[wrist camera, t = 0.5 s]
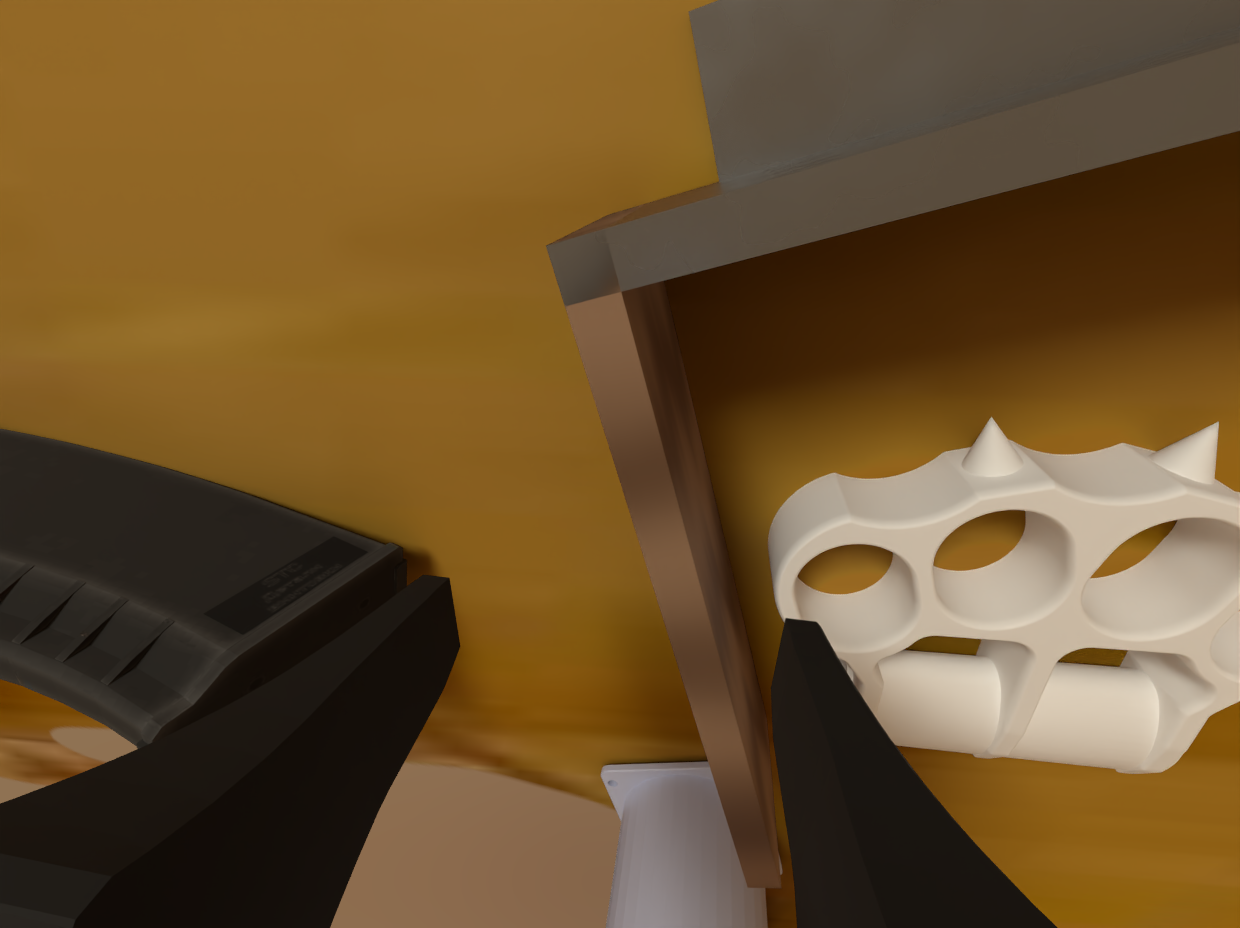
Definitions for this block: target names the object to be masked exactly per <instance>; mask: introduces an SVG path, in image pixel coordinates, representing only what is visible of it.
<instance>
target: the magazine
mask: <svg viewBox="0 0 1240 928" xmlns="http://www.w3.org/2000/svg"><path fill="white" fill-rule="evenodd" d="M406 587H407V560H406V559H404V558H403V548H402V547H400V546H398V545H396V544H394V543H388V544H386V545H385V544H383V543H380V542H377V541H375V540H372V539H369V538H366V537H364V536H361V535H358V534H356V533H353V532H350V531H347V530H345V529H342V528H339V527H336V526H334V525H331V524H328V523H326V522H323V521H320V520H317V519H315V518H312V517H309V516H307V515H304V514H301V513H298V512H296V511H293V510H290V509H287V508H285V507H282V506H279V505H277V504H274V503H271V502H268V501H266V500H263V499H260V498H258V497H255V496H252V495H249V494H247V493H243V492H240V491H237V490H234V489H231V488H228V487H225V486H222V485H219V484H216V483H213V482H210V481H207V480H204V479H201V478H197V477H194V476H191V475H188V474H184V473H181V472H178V471H174V470H171V469H168V468H165V467H161V466H157V465H154V464H150V463H146V462H142V461H139V460H135V459H131V458H127V457H124V456H120V455H116V454H112V453H108V452H104V451H100V450H96V449H92V448H88V447H84V446H80V445H76V444H72V443H67V442H63V441H58V440H53V439H49V438H44V437H39V436H35V435H30V434H25V433H20V432H15V431H9V430H4V429H0V679H2V680H5V681H8V682H11V683H15V684H18V685H21V686H24V687H26V688H28V689H31V690H33V691H35V692H38V693H40V694H43V695H45V696H47V697H50V698H52V699H54V700H57V701H59V702H61V703H64V704H66V705H67V706H69V707H71V708H73V709H75V710H77V711H79V712H81V713H83V714H85V715H87V716H89V717H91V718H93V719H94V720H96V721H98V722H100V723H102V724H104V725H106V726H108V727H109V728H111V729H112V730H113V731H115V732H116V733H118V734H119V735H121V736H122V737H124V738H125V739H127V740H128V741H130V742H131V743H132V744H134V745H136V746H137V748H138V749H139V748H141V747H144V746H146V745H148V744H150V743H152V742H155V741H157V740H159V739H161V738H163V737H165V736H168V735H170V734H172V733H174V732H176V731H178V730H180V729H182V728H184V727H186V726H188V725H190V724H192V723H194V722H196V721H198V720H199V719H201V718H203V717H205V716H207V715H209V714H211V713H213V712H215V711H217V710H219V709H221V708H223V707H225V706H227V705H229V704H231V703H233V702H234V701H236V700H238V699H240V698H242V697H243V696H245V695H247V694H249V693H250V692H252V691H254V690H256V689H257V688H259V687H261V686H263V685H264V684H266V683H268V682H269V681H271V680H273V679H274V678H276V677H278V676H279V675H281V674H283V673H284V672H286V671H287V670H289V669H291V668H292V667H294V666H295V665H297V664H298V663H300V662H301V661H303V660H304V659H306V658H307V657H309V656H310V655H312V654H313V653H315V652H316V651H318V650H319V649H321V648H322V647H324V646H325V645H327V644H328V643H330V642H331V641H333V640H334V639H336V638H337V637H339V636H340V635H342V634H343V633H344V632H346V631H347V630H348V629H350V628H351V627H353V626H354V625H355V624H357V623H358V622H360V621H361V620H362V619H364V618H365V617H366V616H368V615H369V614H371V613H372V612H373V611H375V610H376V609H377V608H379V607H380V606H381V605H383V604H384V603H385V602H387V601H388V600H389V599H391V598H392V597H393V596H395V595H396V594H397V593H399V592H400V591H401V590H403V589H404V588H406Z"/></svg>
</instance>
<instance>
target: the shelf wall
mask: <svg viewBox="0 0 1240 928" xmlns="http://www.w3.org/2000/svg"><path fill="white" fill-rule="evenodd" d="M643 205H645V204H643ZM643 205H640V206H637V207H633V208H630V209H627V210H623V211H620V212H617V213H613V214H610V215H608V216H605V217H603V218H601V219H600V220H598V221H596V222H593V223H591V224H589V225H587V226H585V227H583V228H581V229H579V230H577V231H575V232H573V233H571V234H569V235H567V236H565V237H563V238H561V239H559V240H558V241H555V242H553V243H552V244H554V243H558V242H561V241H564V240H568V239H571V238H575V237H578V236H581V235H585V234H588V233H592V232H595V231H598V230H602V229H605V228H606V227H608V226H610V225H611V224H613V223H615V222H616V221H618V220H620V219H621V218H623V217H625V216H626V215H628V214H630V213H631V212H633V211H635V210H636V209H638V208H640V207H641V206H643ZM550 245H551V244H550ZM607 245H608V244H607ZM607 247H608V246H607ZM608 248H609V247H608ZM609 251H610V250H609ZM598 253H599V252H598ZM607 254H608V253H607ZM610 254H611V253H610ZM599 258H600V257H599ZM610 258H611V257H610ZM611 259H612V258H611ZM603 260H604V259H603ZM606 261H607V260H606ZM608 261H609V260H608ZM612 263H613V262H612ZM596 264H597V263H596ZM598 264H599V263H598ZM606 264H607V263H606ZM599 265H600V264H599ZM604 265H605V264H604ZM612 265H613V266H614V263H613V264H612ZM602 266H603V265H602ZM600 268H602V267H600ZM606 268H607V267H606ZM606 268H605V269H606ZM613 268H614V267H613ZM606 270H607V269H606ZM609 270H610V269H609ZM609 270H607V271H608V272H609ZM613 270H615V269H613ZM608 272H607V273H608ZM577 273H578V272H577ZM593 273H594V272H593ZM607 273H605V274H607ZM611 273H613V271H612V272H611ZM611 273H610V274H611ZM595 274H596V273H595ZM608 274H609V273H608ZM610 274H609V275H610ZM615 274H616V272H615ZM596 275H597V274H596ZM596 275H595V276H596ZM611 275H612V274H611ZM613 275H614V274H613ZM601 276H602V274H601ZM604 276H605V275H604ZM607 276H608V275H607ZM609 277H611V276H609ZM612 277H614V279H617V280H618V278H615V277H617V275H615V276H612ZM586 278H587V277H586ZM599 278H600V277H599ZM602 278H603V276H602ZM605 278H606V280H607V281H606V282H611V281H612V282H614V281H613V280H612V279H613V278H612V279H610V280H611V281H610V280H608V279H607V277H605ZM587 279H588V278H587ZM592 279H593V278H592ZM588 280H589V279H588ZM593 280H594V279H593ZM593 280H592V281H593ZM601 280H602V279H601ZM617 280H616V281H615V282H617ZM599 281H600V280H599ZM602 281H605V279H604V280H602ZM615 282H614V283H615ZM581 283H582V282H581ZM589 283H590V282H589ZM597 283H598V281H597ZM603 283H604V284H605V286H606V289H607V291H604V290H603V288H602V291H604V292H606V295H607V293H608V295H607V296H605V293H604V292H602V293H600V294H601V295H602V294H603V293H604V294H603V295H604V296H603V295H602V296H601V297H600V295H599V294H598V293H597V291H596V292H595V295H597V294H598V295H597V296H596V297H595V299H592V300H589V299H588V301H587V300H586V301H585V300H584V299H583V298H582V297H581V298H582V300H583V302H580V303H576V304H575V302H574V300H573V302H574V304H573V305H568V306H565V308H566V311H567V314H568V317H569V320H570V323H571V327H572V330H573V333H574V336H575V339H576V343H577V346H578V349H579V352H580V355H581V358H582V362H583V365H584V368H585V371H586V374H587V378H588V381H589V384H590V387H591V390H592V393H593V397H594V400H595V403H596V406H597V409H598V413H599V416H600V419H601V422H602V425H603V428H604V432H605V435H606V438H607V441H608V444H609V448H610V451H611V454H612V457H613V460H614V464H615V467H616V470H617V473H618V476H619V479H620V483H621V486H622V489H623V492H624V495H625V499H626V502H627V505H628V508H629V511H630V514H631V518H632V521H633V524H634V527H635V530H636V534H637V537H638V540H639V543H640V546H641V549H642V553H643V556H644V559H645V562H646V565H647V569H648V572H649V575H650V578H651V581H652V584H653V588H654V591H655V594H656V597H657V600H658V604H659V607H660V610H661V613H662V616H663V619H664V623H665V626H666V629H667V632H668V635H669V639H670V642H671V645H672V648H673V651H674V655H675V658H676V661H677V664H678V667H679V670H680V674H681V677H682V680H683V683H684V686H685V690H686V693H687V696H688V699H689V702H690V705H691V709H692V712H693V715H694V718H695V721H696V725H697V728H698V731H699V734H700V737H701V740H702V744H703V747H704V750H705V753H706V756H707V760H708V763H709V766H710V769H711V772H712V775H713V779H714V782H715V785H716V788H717V791H718V795H719V798H720V801H721V804H722V807H723V810H724V814H725V817H726V820H727V823H728V826H729V830H730V833H731V836H732V839H733V842H734V846H735V849H736V852H737V855H738V858H739V861H740V865H741V868H742V871H743V874H744V877H745V881H746V884H747V887H748V888H781V877H780V865H779V853H778V842H777V830H776V818H775V807H774V795H773V783H772V772H771V760H770V749H769V737H768V725H767V718H766V713H765V709H764V705H763V700H762V696H761V692H760V688H759V683H758V679H757V675H756V671H755V666H754V662H753V658H752V654H751V649H750V645H749V641H748V637H747V632H746V628H745V624H744V620H743V615H742V611H741V607H740V603H739V598H738V594H737V590H736V585H735V581H734V577H733V573H732V568H731V564H730V560H729V556H728V551H727V547H726V543H725V539H724V534H723V530H722V526H721V522H720V517H719V513H718V509H717V505H716V500H715V496H714V492H713V488H712V483H711V479H710V475H709V471H708V466H707V462H706V458H705V453H704V449H703V445H702V441H701V436H700V432H699V428H698V424H697V419H696V415H695V411H694V407H693V402H692V398H691V394H690V390H689V385H688V381H687V377H686V373H685V368H684V364H683V360H682V356H681V351H680V347H679V343H678V338H677V334H676V330H675V326H674V321H673V317H672V313H671V309H670V304H669V300H668V296H667V292H666V287H665V283H664V281H661V282H657V283H653V284H649V285H645V286H642V287H638V288H634V289H630V290H626V291H622V292H621V289H620V286H619V284H618V282H617V286H618V288H619V289H618V288H617V289H616V290H615V289H614V288H616V286H615V287H614V288H613V286H614V285H613V286H612V285H611V283H605V282H603ZM614 283H612V284H614ZM599 284H601V283H599ZM606 284H607V285H606ZM609 284H610V285H611V286H610V285H609ZM584 285H585V284H584ZM592 286H593V288H595V287H594V285H593V284H592ZM595 286H596V285H595ZM600 286H601V285H600ZM596 287H597V286H596ZM598 287H599V286H598ZM602 287H603V286H602ZM604 288H605V287H604ZM609 288H610V289H611V291H612V290H613V291H612V292H611V291H610V289H609ZM595 289H596V290H597V288H595ZM599 289H600V290H601V288H600V287H599ZM608 289H609V290H608ZM592 290H593V289H592ZM588 291H589V290H588ZM594 291H595V290H594ZM609 291H610V292H609ZM619 291H620V292H619ZM580 292H581V291H580ZM582 292H583V290H582ZM600 292H601V291H600ZM616 292H618V293H616ZM593 293H594V292H593ZM596 293H597V294H596ZM586 294H587V293H586ZM587 295H588V294H587ZM590 295H591V294H590ZM595 295H594V296H595ZM575 296H576V295H575ZM580 296H581V295H580ZM582 296H584V295H582ZM584 297H585V296H584ZM587 297H588V296H587ZM597 297H598V298H597ZM568 298H569V297H568ZM581 298H580V299H581ZM571 303H572V302H571ZM565 305H566V304H565Z"/></svg>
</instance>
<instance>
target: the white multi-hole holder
mask: <svg viewBox="0 0 1240 928" xmlns="http://www.w3.org/2000/svg"><path fill="white" fill-rule="evenodd" d="M1218 428H1219V422H1217V423H1215V424H1213V425H1211V426H1208V427H1206V428H1204V429H1202V430H1200V431H1198V432H1196V433H1194V434H1192V435H1190V436H1188V437H1186V438H1184V439H1182V440H1180V441H1178V442H1176V443H1174V444H1171V445H1169V446H1167V447H1165V448H1163V449H1161V450H1159V451H1157V452H1155V451H1151V450H1148V449H1144V448H1140V447H1136V446H1133V445H1129V444H1125V443H1121V444H1118V445H1115V446H1112V447H1109V448H1106V449H1102V450H1099V451H1094V452H1089V453H1083V454H1072V455H1058V454H1048V453H1042V452H1038V451H1034V450H1031V449H1028V448H1025V447H1023V446H1021V445H1019V444H1017V443H1015V442H1014V441H1012V440H1008V439H1007V438H1006V436H1005V435H1004V434H1003V432H1002V431H1001V429H1000V428H999V427H998V425H997V424H996V422H995V421H994V420H993V418H992V417H991V418H990V420H989V421H988V423H987V424H986V426H985V427H984V429H983V430H982V432H981V433H980V435H979V436H978V438H977V439H976V441H975V443H974V444H973V446H972V447H969V448H963V449H958V450H952V451H947V452H943V453H942V454H941V455H939V456H938V457H936V458H935V459H934V460H932V461H930V462H929V463H927V464H925V465H923V466H921V467H919V468H917V469H915V470H912V471H910V472H907V473H904V474H900V475H897V476H892V477H887V478H878V479H860V478H852V477H847V476H843V475H840V474H837V473H831V474H828V475H825V476H823V477H820V478H818V479H816V480H814V481H812V482H810V483H808V484H806V485H805V486H803V487H802V488H800V489H799V490H798V491H796V492H795V493H794V494H793V495H792V496H790V497H789V498H788V499H787V500H786V502H785V503H784V504H783V505H782V506H781V508H780V509H779V511H778V512H777V514H776V516H775V517H774V520H773V522H772V524H771V527H770V531H769V536H768V551H769V559H770V567H771V575H772V582H773V590H774V597H775V602H776V606H777V609H778V611H779V614H780V616H781V618H782V620H783V621H784V623H785V618H790V619H798V620H807V621H815V622H817V623H818V624H819V625H820V626H821V628H822V630H823V631H824V633H825V635H826V637H827V639H828V641H829V642H830V644H831V646H832V648H833V650H834V651H835V653H836V655H837V656H838V658H839V660H840V662H841V663H842V665H843V667H844V668H845V670H846V672H847V673H848V675H849V677H850V678H851V680H852V682H853V683H854V685H855V686H856V688H857V690H858V691H859V693H860V694H861V696H862V697H863V699H864V700H865V702H866V703H867V705H868V706H869V708H870V709H871V711H872V712H873V714H874V715H875V717H876V718H877V720H878V721H879V723H880V724H881V726H882V727H883V729H884V730H885V732H886V733H887V734H888V736H889V737H890V739H891V740H892V741H893V743H894V744H895V745H897V746H906V747H915V748H924V749H934V750H943V751H952V752H961V753H971V754H973V755H974V756H975V757H978V758H988V759H990V758H998V757H1008V758H1017V759H1027V760H1036V761H1046V762H1055V763H1064V764H1074V765H1083V766H1093V767H1102V768H1112V769H1116V771H1117V772H1120V773H1130V774H1140V773H1158V772H1163V771H1164V770H1166V769H1168V768H1170V767H1171V766H1173V765H1174V764H1175V763H1176V762H1177V761H1178V760H1179V759H1180V757H1181V756H1182V754H1183V753H1184V752H1186V751H1187V749H1188V748H1189V746H1190V745H1191V743H1192V742H1193V740H1194V739H1195V737H1196V736H1197V734H1198V733H1199V731H1200V730H1201V728H1202V727H1203V725H1204V724H1205V722H1206V721H1207V719H1208V718H1209V716H1211V715H1212V714H1214V713H1216V712H1218V711H1220V710H1222V709H1224V708H1226V707H1228V706H1230V705H1233V704H1235V703H1237V702H1239V701H1240V611H1239V610H1240V492H1235V491H1233V490H1231V489H1230V488H1228V487H1227V486H1225V485H1224V484H1222V483H1220V482H1219V481H1217V480H1216V479H1214V478H1215V465H1216V453H1217V440H1218ZM1004 510H1024V511H1025V516H1026V525H1025V530H1024V533H1023V536H1022V538H1021V539H1020V541H1019V543H1018V544H1017V545H1016V547H1015V548H1014V549H1013V550H1012V551H1011V552H1010V553H1009V554H1007V555H1006V556H1005V557H1003V558H1002V559H1000V560H999V561H997V562H995V563H993V564H991V565H988V566H985V567H982V568H979V569H974V570H968V571H951V570H945V569H941V568H938V567H935V566H933V562H934V557H935V554H936V552H937V550H938V548H939V546H940V545H941V543H942V542H943V541H944V540H945V538H946V537H947V536H948V535H949V534H950V533H952V532H953V531H954V530H955V529H957V528H958V527H959V526H961V525H963V524H964V523H966V522H968V521H970V520H972V519H974V518H976V517H979V516H982V515H985V514H988V513H992V512H997V511H1004ZM1173 520H1177V523H1176V524H1175V526H1174V528H1173V529H1172V530H1171V532H1170V533H1169V534H1168V535H1167V536H1166V537H1165V538H1164V539H1163V540H1162V541H1161V543H1160V544H1159V545H1158V546H1157V547H1156V548H1155V549H1154V550H1153V551H1152V552H1151V553H1150V554H1149V555H1148V556H1147V557H1146V558H1145V559H1143V560H1142V561H1141V562H1139V563H1138V564H1136V565H1134V566H1133V567H1131V568H1129V569H1127V570H1125V571H1122V572H1120V573H1117V574H1114V575H1110V576H1106V577H1101V578H1091V579H1089V578H1090V577H1091V576H1092V574H1093V573H1094V572H1095V571H1096V570H1097V569H1098V568H1099V567H1100V565H1101V564H1102V563H1103V562H1104V561H1105V560H1106V559H1107V558H1108V556H1109V555H1110V554H1111V553H1112V552H1113V551H1114V550H1115V549H1116V548H1117V547H1118V546H1119V545H1121V544H1122V543H1123V542H1125V541H1126V540H1127V539H1129V538H1130V537H1132V536H1134V535H1135V534H1137V533H1139V532H1141V531H1143V530H1145V529H1148V528H1150V527H1153V526H1155V525H1158V524H1161V523H1165V522H1169V521H1173ZM851 544H866V545H873V546H877V547H881V548H884V549H886V550H889V551H891V552H893V559H892V563H891V565H890V568H889V569H888V571H887V572H886V574H885V575H884V576H883V577H882V578H881V579H880V580H879V581H878V582H877V583H875V584H874V585H872V586H870V587H869V588H866V589H864V590H862V591H859V592H855V593H850V594H840V595H838V594H827V593H823V592H819V591H817V590H814V589H812V588H810V587H808V586H807V585H805V584H804V583H803V582H802V581H801V580H800V579H799V578H798V577H797V576H798V574H799V572H800V571H801V569H802V568H803V567H804V566H805V565H806V564H807V563H808V562H809V561H810V560H811V559H812V558H814V557H815V556H817V555H818V554H820V553H822V552H824V551H826V550H829V549H832V548H835V547H839V546H843V545H851ZM1238 611H1239V612H1238ZM928 636H947V637H960V638H973V639H982V640H981V643H980V646H979V648H978V651H977V654H976V656H974V655H961V654H948V653H935V652H923V651H910V650H904V649H906V648H907V647H909V646H910V645H912V644H913V643H914V642H916V641H917V640H919V639H921V638H924V637H928ZM1083 648H1105V649H1118V650H1128V652H1127V654H1126V656H1125V658H1124V659H1123V661H1122V663H1121V665H1120V667H1112V666H1100V665H1088V664H1075V663H1062V662H1058V660H1059V659H1060V658H1062V657H1063V656H1064V655H1066V654H1068V653H1070V652H1072V651H1075V650H1078V649H1083Z"/></svg>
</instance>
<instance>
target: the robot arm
mask: <svg viewBox="0 0 1240 928" xmlns="http://www.w3.org/2000/svg"><path fill="white" fill-rule="evenodd" d="M459 648H460V642H459V635H458V629H457V623H456V617H455V610H454V604H453V598H452V591H451V585H450V579H449V578H446V577H438V576H429V575H422V576H421V577H419V578H418V579H417V580H415V581H414V582H412V583H411V584H410V585H408V586H407V587H406V588H404V589H403V590H401V591H400V592H399V593H397V594H396V595H395V596H393V597H392V598H391V599H389V600H388V601H387V602H385V603H384V604H383V605H381V606H380V607H379V608H377V609H376V610H375V611H373V612H372V613H371V614H369V615H368V616H366V617H365V618H364V619H362V620H361V621H360V622H358V623H357V624H355V625H354V626H353V627H351V628H350V629H348V630H347V631H346V632H344V633H343V634H342V635H340V636H339V637H337V638H336V639H334V640H333V641H331V642H330V643H328V644H327V645H325V646H324V647H322V648H321V649H319V650H318V651H316V652H315V653H313V654H312V655H310V656H309V657H307V658H306V659H304V660H303V661H301V662H300V663H298V664H297V665H295V666H294V667H292V668H291V669H289V670H287V671H286V672H284V673H283V674H281V675H279V676H278V677H276V678H274V679H273V680H271V681H269V682H268V683H266V684H264V685H263V686H261V687H259V688H257V689H256V690H254V691H252V692H250V693H249V694H247V695H245V696H243V697H242V698H240V699H238V700H236V701H234V702H233V703H231V704H229V705H227V706H225V707H223V708H221V709H219V710H217V711H215V712H213V713H211V714H209V715H207V716H205V717H203V718H201V719H199V720H198V721H196V722H194V723H192V724H190V725H188V726H186V727H184V728H182V729H180V730H178V731H176V732H174V733H172V734H170V735H168V736H165V737H163V738H161V739H159V740H157V741H155V742H152V743H150V744H148V745H146V746H144V747H141V748H139V749H137V750H135V751H133V752H130V753H128V754H126V755H124V756H121V757H119V758H116V759H114V760H112V761H109V762H107V763H105V764H102V765H100V766H97V767H95V768H93V769H90V770H88V771H85V772H83V773H80V774H78V775H75V776H73V777H70V778H67V779H65V780H62V781H59V782H57V783H54V784H51V785H49V786H46V787H44V788H41V789H38V790H36V791H33V792H30V793H28V794H26V795H23V796H20V797H17V798H15V799H12V800H9V801H6V802H4V803H1V804H0V928H330V926H331V923H332V921H333V918H334V916H335V913H336V911H337V908H338V906H339V904H340V901H341V898H342V896H343V894H344V891H345V889H346V886H347V884H348V881H349V879H350V877H351V874H352V872H353V869H354V867H355V864H356V862H357V860H358V857H359V855H360V852H361V850H362V848H363V846H364V843H365V841H366V838H367V836H368V834H369V832H370V829H371V827H372V825H373V823H374V820H375V818H376V815H377V813H378V811H379V809H380V807H381V805H382V803H383V801H384V799H385V797H386V795H387V793H388V791H389V789H390V787H391V785H392V783H393V781H394V780H395V778H396V776H397V774H398V772H399V771H400V769H401V767H402V765H403V763H404V761H405V760H406V758H407V756H408V754H409V752H410V750H411V749H412V747H413V745H414V743H415V741H416V739H417V738H418V736H419V734H420V732H421V730H422V729H423V727H424V725H425V723H426V721H427V719H428V717H429V716H430V714H431V712H432V710H433V708H434V706H435V704H436V703H437V701H438V699H439V697H440V695H441V693H442V691H443V689H444V687H445V684H446V682H447V679H448V677H449V674H450V672H451V669H452V667H453V664H454V661H455V659H456V656H457V654H458V651H459ZM771 700H772V725H773V740H774V747H775V754H776V761H777V768H778V774H779V781H780V787H781V794H782V800H783V807H784V813H785V820H786V826H787V833H788V839H789V846H790V852H791V859H792V868H793V877H794V886H795V901H796V916H797V928H1057V927H1056V926H1055V925H1054V924H1053V923H1052V922H1051V921H1050V920H1049V919H1048V918H1047V917H1046V916H1045V915H1044V914H1043V913H1042V912H1041V911H1040V910H1039V909H1038V908H1036V907H1035V906H1034V905H1033V904H1032V903H1031V901H1030V900H1029V899H1028V898H1027V897H1026V896H1025V895H1024V894H1023V893H1022V892H1021V891H1020V890H1019V889H1018V888H1017V887H1016V886H1015V885H1014V884H1013V883H1012V882H1011V881H1010V880H1009V879H1008V877H1007V876H1006V875H1005V874H1004V873H1003V872H1002V871H1001V870H1000V869H999V868H998V867H997V866H996V865H995V864H994V863H993V862H992V861H991V860H990V859H989V858H988V857H987V856H986V855H985V853H984V852H983V851H982V850H981V849H980V848H979V847H978V846H977V845H976V844H975V843H974V842H973V840H972V839H971V838H970V837H969V836H968V835H967V834H966V832H965V831H964V830H963V829H962V828H961V827H960V826H959V824H958V823H957V822H956V821H955V820H954V819H953V818H952V816H951V815H950V814H949V813H948V812H947V811H946V809H945V808H944V807H943V806H942V805H941V803H940V802H939V801H938V800H937V798H936V797H935V796H934V795H933V794H932V792H931V791H930V790H929V789H928V788H927V786H926V785H925V784H924V783H923V781H922V780H921V779H920V777H919V776H918V775H917V774H916V772H915V771H914V770H913V768H912V767H911V766H910V764H909V763H908V762H907V760H906V759H905V758H904V756H903V755H902V754H901V752H900V751H899V750H898V748H897V747H896V745H895V744H894V743H893V741H892V740H891V739H890V737H889V736H888V734H887V733H886V732H885V730H884V729H883V727H882V726H881V724H880V723H879V721H878V720H877V718H876V717H875V715H874V714H873V712H872V711H871V709H870V708H869V706H868V705H867V703H866V702H865V700H864V699H863V697H862V696H861V694H860V693H859V691H858V690H857V688H856V686H855V685H854V683H853V682H852V680H851V678H850V677H849V675H848V673H847V672H846V670H845V668H844V667H843V665H842V663H841V662H840V660H839V658H838V656H837V655H836V653H835V651H834V650H833V648H832V646H831V644H830V642H829V641H828V639H827V637H826V635H825V633H824V631H823V630H822V628H821V626H820V625H819V624H818V623H817V622H815V621H807V620H798V619H790V618H785V623H784V628H783V633H782V638H781V643H780V648H779V652H778V657H777V662H776V667H775V672H774V677H773V681H772V686H771ZM601 778H602V780H603V782H604V784H605V786H606V789H607V791H608V793H609V795H610V798H611V800H612V802H613V804H614V807H615V809H616V811H617V813H618V815H619V818H620V820H621V829H620V835H619V841H618V848H617V855H616V862H615V869H614V875H613V882H612V889H611V896H610V903H609V910H608V916H607V923H606V928H768V925H767V909H766V893H765V888H748V887H747V884H746V881H745V877H744V874H743V871H742V868H741V865H740V861H739V858H738V855H737V852H736V849H735V846H734V842H733V839H732V836H731V833H730V830H729V826H728V823H727V820H726V817H725V814H724V810H723V807H722V804H721V801H720V798H719V795H718V791H717V788H716V785H715V782H714V779H713V775H712V772H711V769H710V766H709V763H708V761H706V762H676V763H646V764H616V765H606V766H604V767H603V768H602V771H601ZM778 853H779V852H778ZM779 865H780V875H781V874H782V863H781V860H780V856H779Z"/></svg>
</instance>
